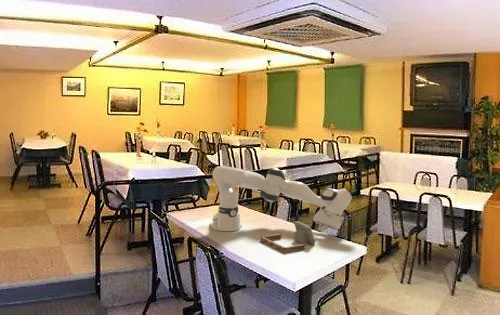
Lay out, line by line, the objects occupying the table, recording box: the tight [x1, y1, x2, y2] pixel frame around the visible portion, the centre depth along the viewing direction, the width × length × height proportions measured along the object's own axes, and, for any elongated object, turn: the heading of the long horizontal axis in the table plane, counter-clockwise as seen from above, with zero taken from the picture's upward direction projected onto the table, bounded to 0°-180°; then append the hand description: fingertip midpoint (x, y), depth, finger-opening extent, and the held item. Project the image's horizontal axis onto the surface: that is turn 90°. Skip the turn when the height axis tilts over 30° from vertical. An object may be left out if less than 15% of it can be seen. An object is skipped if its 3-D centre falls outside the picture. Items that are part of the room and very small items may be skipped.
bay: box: [259, 233, 306, 254], centre depth 250 cm, size 24×13×2 cm, turn 31°
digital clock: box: [293, 220, 316, 245], centre depth 257 cm, size 16×9×11 cm, turn 13°
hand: (319, 231), depth 263 cm, fingers closed
